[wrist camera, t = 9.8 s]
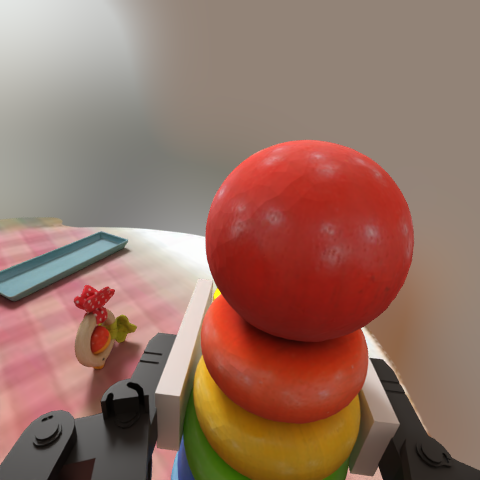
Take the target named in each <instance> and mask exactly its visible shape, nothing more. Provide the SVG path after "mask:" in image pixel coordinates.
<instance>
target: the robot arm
mask: <svg viewBox="0 0 480 480" xmlns="http://www.w3.org/2000/svg"><path fill="white" fill-rule="evenodd" d="M212 288H213V280H206V279H198V281H197V284H196V287H195V289H194V292H193V294H192V297H191V300H190V302H189V305H188V308H187V310H186V313H185V315H184V318H183V321H182V323H181V326H180V329H179V331H178V334H177V335H173V334H164V333H158V334H157V335H156V336H154V337H153V338H152V339H151V340H150V341H149V343H148V345H147V347H146V349H145V351H144V353H143V355H142V357H141V359H140V362H139V363H138V365H137V367H136V369H135V371H134V373H133V375H132V377H131V379H125V380H122V381H119V382H117V383H115V384H114V385H112V386H111V387H110V388H109V389H108V390H107V391H106V392H105V393H104V395H103V397H102V399H101V407H102V413H100V414H96V415H93V416H87V417H82V418H77V419H74V417H73V416H72V415H71V414H70V413H69V412H66V411H63V410H59V411H51V412H49V413H46V414H44V415H42V416H40V417H39V418H37V419H36V420H34V421H33V422H32V423H31V424H30V425H29V426H28V427H27V428H26V429H25V431H24V432H23V433H22V435H21V436H20V438H19V439H18V441H17V442H16V443H15V445H14V446H13V448H12V449H11V451H10V452H9V453H8V455H7V456H6V458H5V459H4V461H3V462H2V464H1V465H0V480H151V477H152V453H153V450H154V447H155V444H156V441H157V448H160V449H168V450H176V451H179V449H180V445H181V440H182V436H183V424H184V418H185V413H186V409H187V404H188V400H189V396H190V393H191V390H192V388H193V382H194V377H195V372H196V368H197V365H198V363H199V360H200V358H201V356H202V350H201V328H202V323H203V319H204V317H205V314H206V312H207V310H208V309H209V307H210V305H211V302H212ZM358 396H359V402H360V413H361V418H360V426H359V433H358V436H357V440H356V442H355V445H354V447H353V449H352V452H351V454H350V459H349V469H350V473H352V474H359V475H367V476H374V474H375V472H376V470H377V468H378V466H379V469H380V472H381V475H382V478H383V480H480V471H479V470H477V469H475V468H473V467H470V466H468V465H465V464H464V463H461V462H459V461H457V460H455V459H453V458H452V457H451V455H450V454H449V453H448V452H447V450H446V449H445V448H444V447H443V446H442V445H441V444H440V443H439V442H437V441H436V440H435V439H433V438H431V437H430V436H428V434H427V433H426V431H425V429H424V427H423V426H422V424H421V422H420V420H419V418H418V416H417V414H416V412H415V411H414V409H413V407H412V405H411V403H410V401H409V399H408V397H407V396H406V395H405V392H404V390H403V388H402V386H401V385H400V384H399V381H398V379H397V377H396V375H395V373H394V371H393V370H392V369H391V368H390V367H389V366H388V365H387V364H386V363H385V361H384V360H382V359H374V358H369V356H368V370H367V375H366V379H365V382H364V385H363V387H362V389H361V390H360V392H359V393H358Z"/></svg>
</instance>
